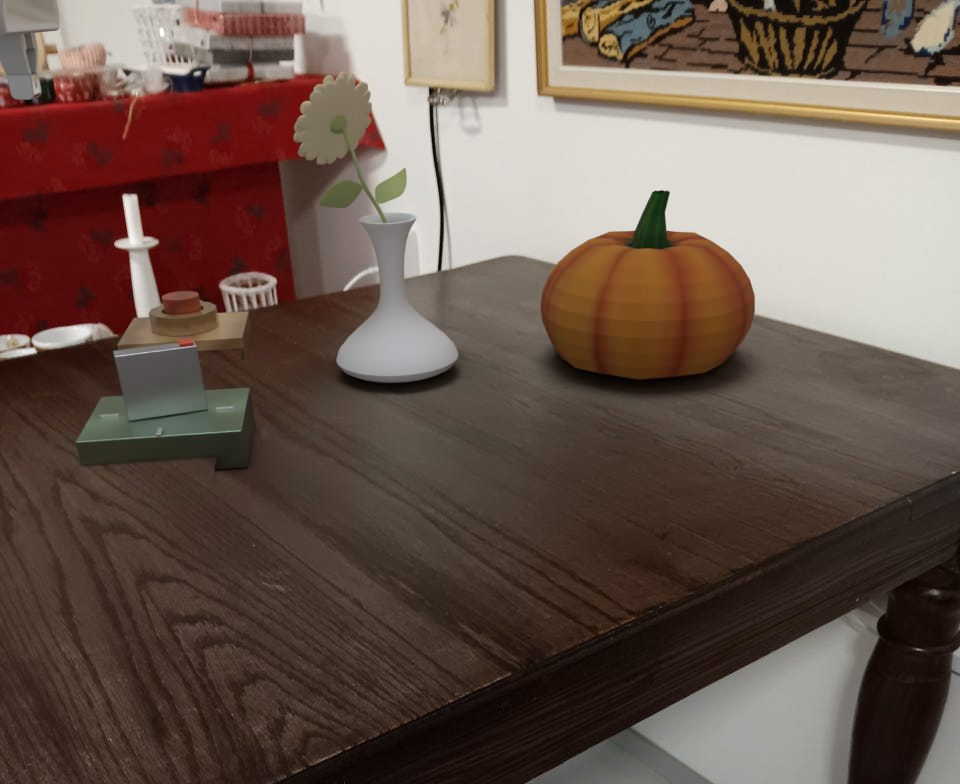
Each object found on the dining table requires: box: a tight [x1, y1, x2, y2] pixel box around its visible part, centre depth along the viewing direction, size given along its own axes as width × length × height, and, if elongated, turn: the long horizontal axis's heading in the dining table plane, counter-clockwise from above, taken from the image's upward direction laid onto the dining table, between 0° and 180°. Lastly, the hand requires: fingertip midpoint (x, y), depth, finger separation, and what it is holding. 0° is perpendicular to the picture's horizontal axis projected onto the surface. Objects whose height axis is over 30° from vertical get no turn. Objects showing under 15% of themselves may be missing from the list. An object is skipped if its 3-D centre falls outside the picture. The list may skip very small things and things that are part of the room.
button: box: [161, 290, 201, 315], centre depth 100 cm, size 4×4×2 cm
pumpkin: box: [540, 189, 756, 381], centre depth 91 cm, size 19×19×15 cm
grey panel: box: [112, 338, 208, 421], centre depth 76 cm, size 6×2×5 cm, turn 112°
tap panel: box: [75, 387, 256, 471], centre depth 78 cm, size 12×10×3 cm
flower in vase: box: [292, 70, 459, 384], centre depth 86 cm, size 13×11×25 cm
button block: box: [116, 300, 253, 360], centre depth 101 cm, size 12×10×4 cm
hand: (27, 98), depth 83 cm, fingers closed
